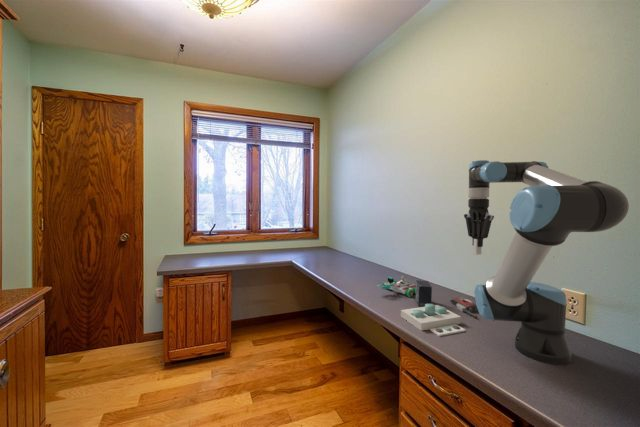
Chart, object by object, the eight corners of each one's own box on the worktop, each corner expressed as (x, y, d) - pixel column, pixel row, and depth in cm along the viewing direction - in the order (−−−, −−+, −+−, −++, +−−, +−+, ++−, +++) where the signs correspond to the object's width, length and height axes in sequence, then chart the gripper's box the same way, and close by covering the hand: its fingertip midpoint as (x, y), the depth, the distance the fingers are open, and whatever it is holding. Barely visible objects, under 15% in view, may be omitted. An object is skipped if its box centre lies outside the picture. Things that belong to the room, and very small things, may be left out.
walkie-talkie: (446, 303, 141) (474, 320, 121) (446, 294, 141) (474, 310, 121) (462, 302, 142) (492, 318, 123) (462, 293, 142) (492, 309, 122)
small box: (432, 308, 134) (432, 286, 133) (418, 307, 135) (418, 286, 135) (428, 300, 144) (428, 280, 144) (415, 299, 146) (415, 279, 145)
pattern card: (465, 331, 110) (465, 329, 110) (439, 336, 106) (439, 333, 106) (456, 325, 115) (456, 323, 115) (430, 330, 111) (430, 328, 111)
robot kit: (368, 293, 157) (368, 276, 156) (397, 285, 171) (398, 270, 171) (394, 303, 142) (394, 285, 141) (424, 293, 156) (424, 277, 155)
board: (460, 323, 117) (461, 316, 117) (421, 330, 111) (421, 323, 111) (437, 311, 130) (437, 304, 130) (400, 316, 124) (400, 310, 124)
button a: (448, 318, 121) (448, 309, 121) (440, 319, 120) (440, 310, 120) (441, 314, 125) (441, 305, 125) (433, 315, 124) (434, 306, 124)
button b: (437, 315, 119) (437, 306, 119) (429, 316, 118) (429, 307, 118) (430, 311, 123) (430, 303, 123) (422, 313, 122) (422, 304, 122)
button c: (425, 322, 117) (425, 312, 117) (417, 323, 116) (417, 314, 116) (419, 318, 121) (419, 309, 121) (411, 319, 120) (411, 310, 120)
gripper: (499, 198, 111) (498, 256, 112) (472, 198, 123) (471, 251, 124) (485, 198, 108) (483, 257, 109) (459, 198, 121) (458, 252, 122)
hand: (477, 254), depth 117 cm, fingers closed
